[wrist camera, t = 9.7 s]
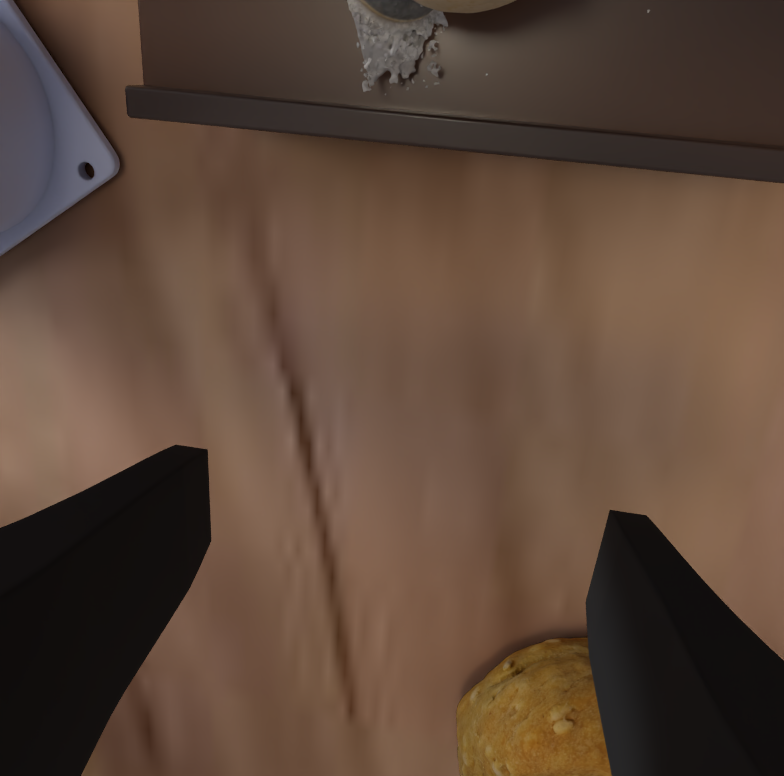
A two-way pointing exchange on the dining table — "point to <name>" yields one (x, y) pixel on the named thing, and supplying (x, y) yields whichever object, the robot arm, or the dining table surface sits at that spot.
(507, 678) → the bagel
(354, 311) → the dining table surface
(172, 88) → the shelf
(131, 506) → the robot arm
